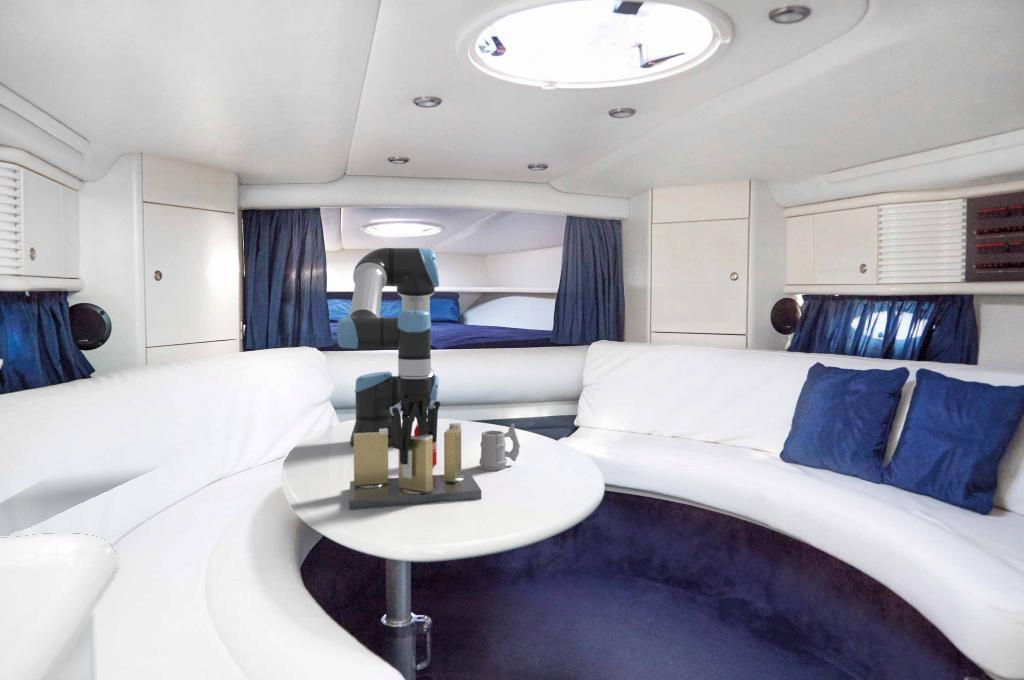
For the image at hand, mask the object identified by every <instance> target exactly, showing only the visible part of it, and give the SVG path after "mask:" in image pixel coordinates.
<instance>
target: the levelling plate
mask: <svg viewBox="0 0 1024 680" xmlns="http://www.w3.org/2000/svg"><path fill="white" fill-rule="evenodd" d="M348 498H349V502H348V506H349V510H350V511H351V510H360V509H363V510H364V509H374V508H376V509H377V508H387V507H388V508H389V507H396V506H397V507H398V506H410V505H420V504H434V503H444V502H445V503H446V502H456V501H457V502H458V501H459V502H460V501H468V500H471V501H472V500H480V499H481V500H482V489H481V487H480V485H478V483H477V481H476V480H475V478H474V477H473V476H472V474H471V472H461V473H460V475H459V476H458V477H457V479H456V480H455V481H444V473H443V474H433V489H432V490H430V491H427V492H422V491H417V490H412V489H407V488H402V487H399V477H388V483H378V484H365V485H354V480H351V481H349V497H348Z"/></svg>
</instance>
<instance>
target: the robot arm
mask: <svg viewBox="0 0 1024 680" xmlns="http://www.w3.org/2000/svg"><path fill="white" fill-rule="evenodd" d="M436 256H437V255H436V253H435V251H434V250H433V249H430V248H421V247H382V248H377V249H375V250H373V251H370V252H368V254H365V255H364V256H363V257H362V258H361V259H360V260H359V261H358V262H357V264H356V265H355V267H354V271H353V274H352V279H353V283H354V289H353V294H352V299H351V304H350V310H349V314H348V316H347V317H340V318H339V319H338V320H337V325H336V338H337V345H338V346H339V347H340V348H343V349H353V350H356V349H397V351H398V356H397V361H398V363H397V364H398V365H397V366H398V368H397V369H398V370H397V371H398V373H397V374H398V375H393V373H392V372H391V371H378V372H370V373H366V374H362V375H360V376H358V377H357V378H356V379H355V389H354V393H355V422H354V426H353V429H352V431H351V435H350V439H349V440H350V442H349V443H350V446H351V447H353V448H354V433H370V432H379V429H384V428H387V429H388V448H389V447H392V448H393V449H396V450H398V449H399V450H400V463H401V464H403V477H406V478H408V479H411V478H412V450H409V445H410V438H411V436H412V431H413V424H414V422H415V419H416V423H417V424H416V425H418V431H419V436H421V435H425V434H428V435H433V439H432V443H433V442H434V443H435V442H436V440H437V436H438V433H437V432H438V419H439V417H438V413H439V410H440V406H441V402H440V401H439V400H438V401H437V399H438V393H439V376H438V375H436V374H435V370H434V369H433V368H432V361H431V360H432V358H431V355H432V354H431V351H432V350H431V347H432V346H431V345H432V344H431V343H432V341H431V340H432V339H431V338H432V334H431V333H432V332H431V331H432V330H431V329H432V328H431V327H432V321H431V312H430V310H431V309H430V308H431V306H430V304H431V301H430V300H431V296H433V295H434V294H435V293H436V292H435V291H436V290H435V288H438V287H440V281H439V280H440V279H439V272H438V265H437V258H436ZM384 287H396V293H397V294H398V295H399V296H400V297H401V310H400V311H399V312H398V313H397V314H398V315H397V317H380V314H381V305H382V295H383V289H384Z"/></svg>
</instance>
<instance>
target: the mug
mask: <svg viewBox="0 0 1024 680" xmlns="http://www.w3.org/2000/svg"><path fill="white" fill-rule="evenodd" d="M505 438H510V440H511V441H512V448H511V451H508V450H506V445H507V444H506V439H505ZM480 447H481V449H480V458H479V465H480V469H482V470H485V471H489V472H490V471H491V472H492V471H493V472H495V471H501V470H504V469H506V466H507V462H508V460H507V458H509V459H510V460H511V461H513V462H516V460H517V458H518V456H519V455H520V447H521V444H520V442H519V439H518V436H517V432H516V430H515V424H514V423H511V424H510V426H509V428H508V430H507V432H504V431H501V430H485V431H483V432H482V433H481V442H480Z"/></svg>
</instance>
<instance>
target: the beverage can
mask: <svg viewBox="0 0 1024 680" xmlns="http://www.w3.org/2000/svg"><path fill="white" fill-rule="evenodd" d="M413 433H414V434H413V436H419V431H418V425H417V424H416V425H415V428H414V432H413ZM437 443H438V442H437V440H436V442H435V443H434V442H433V443H432V452H433V468H434V467H436V466H437V463H438V461H437V460H438V459H437V457H438V456H437V448H438V447H437V445H438V444H437Z"/></svg>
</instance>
